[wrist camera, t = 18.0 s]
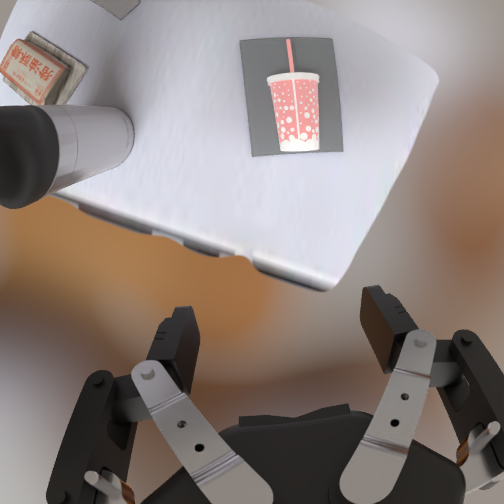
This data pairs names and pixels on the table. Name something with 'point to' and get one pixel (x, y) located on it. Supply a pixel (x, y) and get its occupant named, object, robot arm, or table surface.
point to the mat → (277, 62)
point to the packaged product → (41, 71)
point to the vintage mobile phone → (117, 6)
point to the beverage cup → (296, 108)
